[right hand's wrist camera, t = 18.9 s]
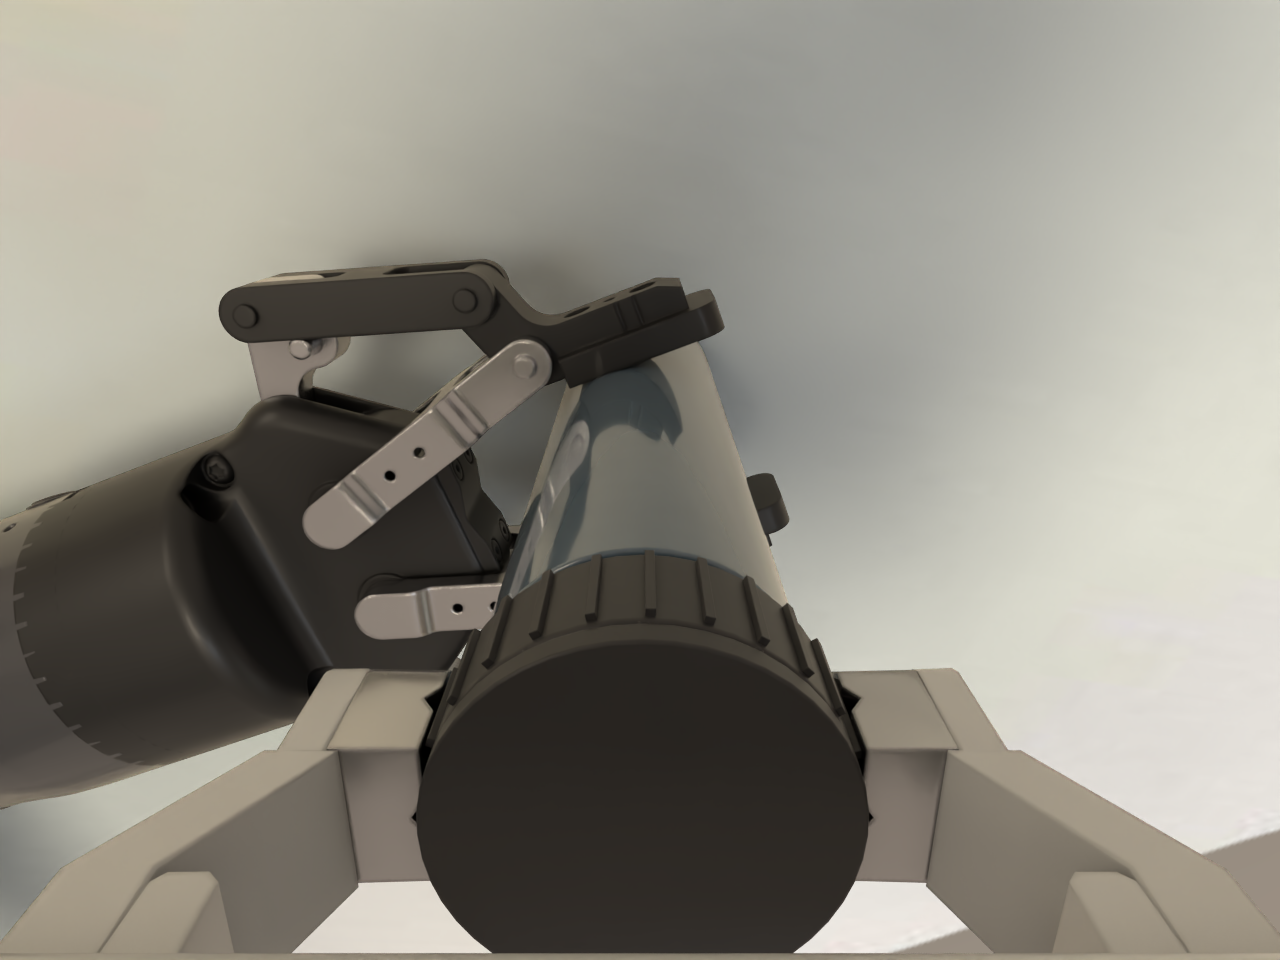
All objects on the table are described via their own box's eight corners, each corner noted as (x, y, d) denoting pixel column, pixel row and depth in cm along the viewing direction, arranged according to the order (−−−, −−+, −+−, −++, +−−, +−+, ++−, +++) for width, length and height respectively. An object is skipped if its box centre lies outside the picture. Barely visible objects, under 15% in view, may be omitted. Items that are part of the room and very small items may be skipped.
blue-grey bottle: (637, 474, 27) (635, 993, 10) (542, 379, 26) (363, 785, 9) (738, 385, 26) (920, 800, 9) (644, 282, 25) (652, 538, 8)
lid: (643, 462, 9) (643, 535, 7) (916, 721, 10) (974, 837, 9) (368, 719, 10) (312, 835, 9) (642, 926, 12) (642, 1065, 10)
